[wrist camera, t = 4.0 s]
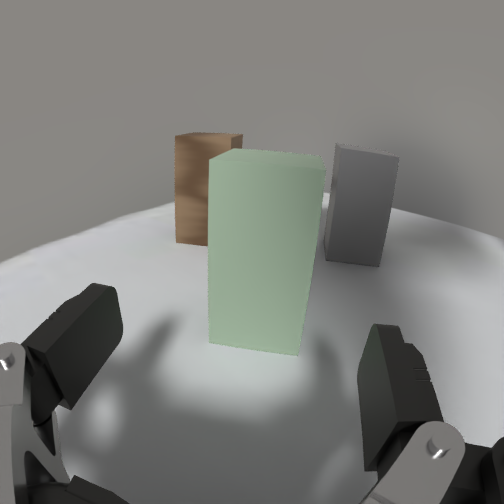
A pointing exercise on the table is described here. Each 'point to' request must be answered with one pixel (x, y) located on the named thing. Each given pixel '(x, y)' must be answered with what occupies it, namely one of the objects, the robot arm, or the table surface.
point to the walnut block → (196, 181)
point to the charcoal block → (359, 204)
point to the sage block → (262, 246)
